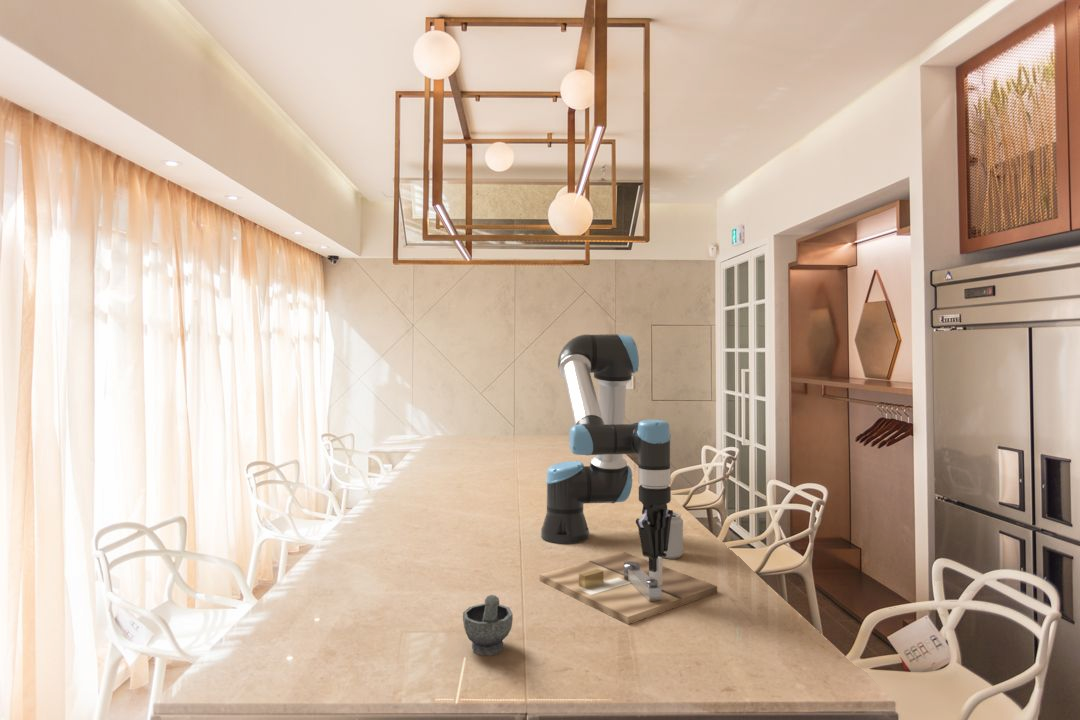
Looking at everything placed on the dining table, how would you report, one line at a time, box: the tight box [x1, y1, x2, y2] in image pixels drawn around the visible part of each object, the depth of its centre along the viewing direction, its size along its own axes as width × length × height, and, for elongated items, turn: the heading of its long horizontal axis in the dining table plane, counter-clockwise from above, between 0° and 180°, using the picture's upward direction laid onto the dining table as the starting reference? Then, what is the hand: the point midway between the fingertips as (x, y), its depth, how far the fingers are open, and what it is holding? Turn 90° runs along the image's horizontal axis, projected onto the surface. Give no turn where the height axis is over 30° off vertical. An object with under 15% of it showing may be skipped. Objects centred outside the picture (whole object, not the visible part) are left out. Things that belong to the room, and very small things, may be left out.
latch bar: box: [624, 561, 662, 601], centre depth 149 cm, size 17×4×4 cm, turn 12°
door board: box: [539, 551, 718, 625], centre depth 154 cm, size 32×30×5 cm
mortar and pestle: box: [462, 594, 514, 656], centre depth 121 cm, size 11×9×12 cm
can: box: [662, 511, 684, 560], centre depth 178 cm, size 8×8×12 cm
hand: (655, 583), depth 148 cm, fingers closed
